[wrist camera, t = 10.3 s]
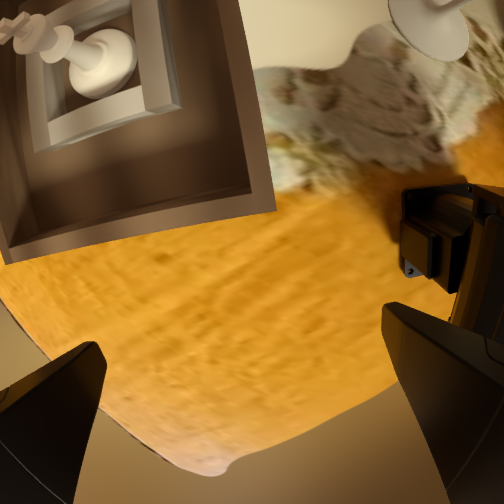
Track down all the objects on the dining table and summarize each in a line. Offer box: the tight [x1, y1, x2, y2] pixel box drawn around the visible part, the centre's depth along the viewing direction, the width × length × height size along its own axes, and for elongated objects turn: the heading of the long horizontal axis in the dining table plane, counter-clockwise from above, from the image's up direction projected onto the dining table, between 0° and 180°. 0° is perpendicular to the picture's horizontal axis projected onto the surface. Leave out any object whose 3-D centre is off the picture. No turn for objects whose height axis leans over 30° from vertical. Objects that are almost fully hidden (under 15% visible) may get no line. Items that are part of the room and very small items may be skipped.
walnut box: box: [0, 0, 277, 265], centre depth 14 cm, size 18×22×5 cm
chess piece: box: [0, 11, 137, 99], centre depth 10 cm, size 5×5×10 cm
